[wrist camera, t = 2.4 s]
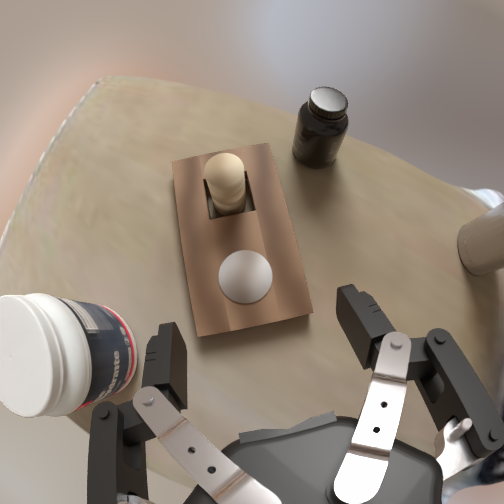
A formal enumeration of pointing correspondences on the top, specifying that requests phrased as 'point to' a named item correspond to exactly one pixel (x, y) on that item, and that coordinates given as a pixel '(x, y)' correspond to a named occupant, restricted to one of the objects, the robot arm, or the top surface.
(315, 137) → the supplement bottle
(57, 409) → the supplement tub
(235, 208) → the birch peg
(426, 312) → the top surface
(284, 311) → the walnut board
